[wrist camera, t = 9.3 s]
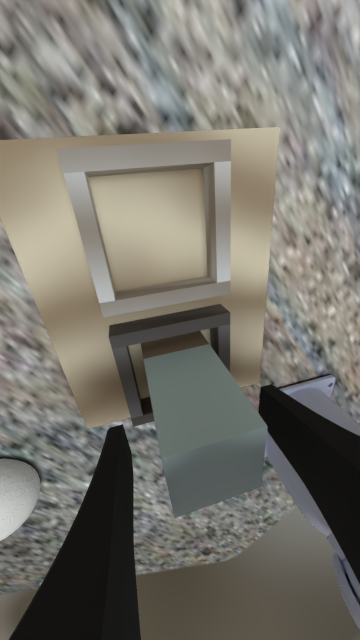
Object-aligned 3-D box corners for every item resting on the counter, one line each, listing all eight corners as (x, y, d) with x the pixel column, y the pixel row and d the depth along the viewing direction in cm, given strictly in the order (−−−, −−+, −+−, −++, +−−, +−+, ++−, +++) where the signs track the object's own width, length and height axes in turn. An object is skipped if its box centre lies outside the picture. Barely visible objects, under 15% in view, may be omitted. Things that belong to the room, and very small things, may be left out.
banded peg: (202, 374, 17) (260, 486, 10) (150, 388, 16) (174, 518, 9) (198, 329, 15) (267, 426, 8) (140, 341, 15) (161, 459, 8)
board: (252, 374, 20) (270, 395, 18) (89, 416, 18) (84, 447, 15) (266, 134, 13) (300, 115, 10) (-16, 149, 10) (-57, 129, 8)
